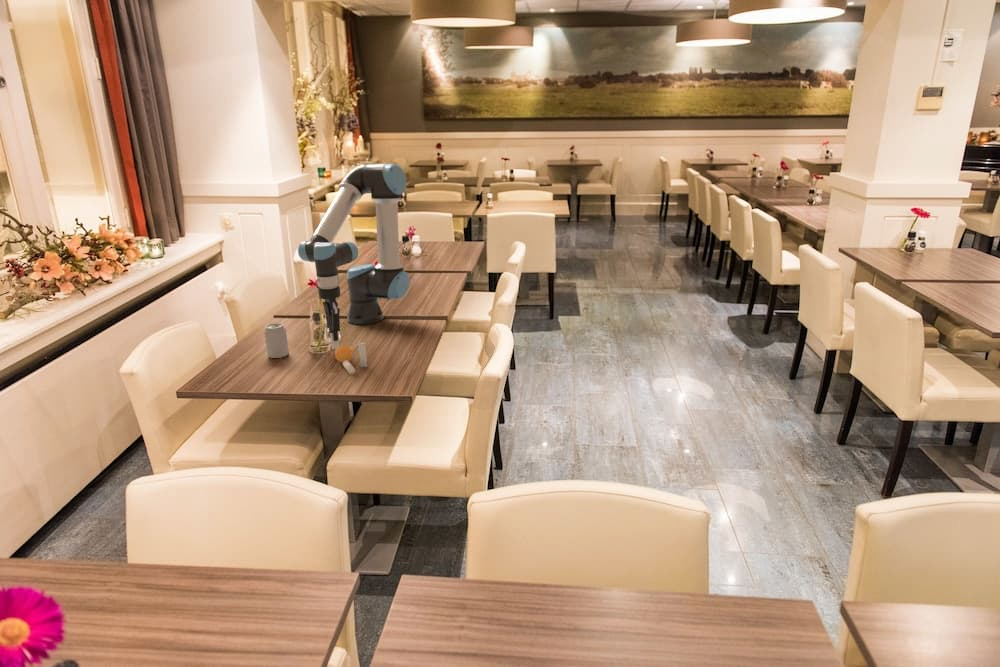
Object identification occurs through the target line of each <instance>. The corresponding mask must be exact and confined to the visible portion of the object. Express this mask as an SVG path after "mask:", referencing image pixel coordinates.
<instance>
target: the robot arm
mask: <svg viewBox="0 0 1000 667" xmlns="http://www.w3.org/2000/svg"><path fill="white" fill-rule="evenodd" d="M406 176H407V175H406V174H405V171H404V170H403V169H402V167H401V166H400V165H398V164H395V163H389V162H388V163H361V164H359V165H357V166H355V167H354V168H352V169H351V170H350V171H349V172H348V173H347V174H346V175H344V177H343V179H342V180H341V181H340V184H339V185H338V187H337V188H338V192H337V193H336V195H335V197H334V198H333V200H332V203H331V204H330V205H329V207H328V209H327V210H326V212H325V214H324V215H323V217H322V219H321V220H320V222H319V224H318V226H317V228H316V229H315V230H314V232H313V234H312V236H311V238H310V239H309V240H304V241H302V242H300V243H299V244H298V248H297V254H298V257H299V258H300V259H301V260H302V261H305V262H310V263H314V264H315V272H316V279H315V282H317V287H318V288H317V291H318V297H319V299H321V300H324V301H322V306H323V309H324V315H325V321H326V326H327V327H326V328H327V329H328V330H329V331H328V333H329V337H330V344H331V345H330V346H331V349H332V350H337V348H338V347H340V346H341V344H340V337H339V332H340V331H341V325H340V324H341V322H340V320H341V318H340V311H341V310H340V308H339V307H338V306H339V304H338V301H337V300H336V299H337V298H340V296H341V288H340V286H339V285H340V277H339V270H338V268H339V267H341V266H344V265H347V264H350V263H352V262H354V261H355V260H357V259H358V256H359V249H358V247H357V245H356V244H355V243H354V242H352V241H343V242H342V243H336V242H334V240H335V239H336V237H337V235H338V233H339V232H340V229H341V228H342V226H343V224H344V223H345V221H346V219H347V218H348V216H349V214H350V212H351V210H352V209H353V207H354V206H355V204H356V202H357V201H360V200H361V199H362V196H364V195H365V194H370V195H371V196H370V198H371V200H372V201H374V203H375V220H376V240H377V242H376V243H377V263H376V264H371V263H370V264H369V263H368V264H361V265H356V266H353V267H350V268H349V269H347V272H346V276H347V278H346V280H347V287H348V288H347V289H348V297H349V298H348V299H349V305H348V306H349V307H348V311H347V317H346V318H347V322H348V323H349V322H350V323H349V324H352V323H353V324H354V325H370V323H371V324H375V323H378V322H381V321H382V320H384V311H383V309H382V307H381V304H380V302H379V301H378V298H379V299H386V300H387V299H388V300H401V299H402V298H404V297H405V296H406V295H407V293H408V291H409V289H410V285H411V284H410V283H411V280H410V276H409V273H408V272H406V271H405V270H404V265H403V264H402V263H401V262H400V240H399V216H398V215H399V214H398V213H399V212H398V203H399V201H400V200H401V199H402V195H403V194H404V193H405V192H406V188H407V183H408V182H407V177H406ZM353 324H352V325H353Z"/></svg>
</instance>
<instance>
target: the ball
mask: <svg viewBox="0 0 1000 667" xmlns="http://www.w3.org/2000/svg"><path fill="white" fill-rule="evenodd" d="M334 355H335V356H334V357H335V359H336V360H337V361H338V362H339V363H342V364H343V361H344V360H348V361H349V362H350V360H351V359H352V357H353V351H352V349H351V348H350V347H349V346H347V345H340V347H338V348H337V349H335V352H334Z"/></svg>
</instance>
